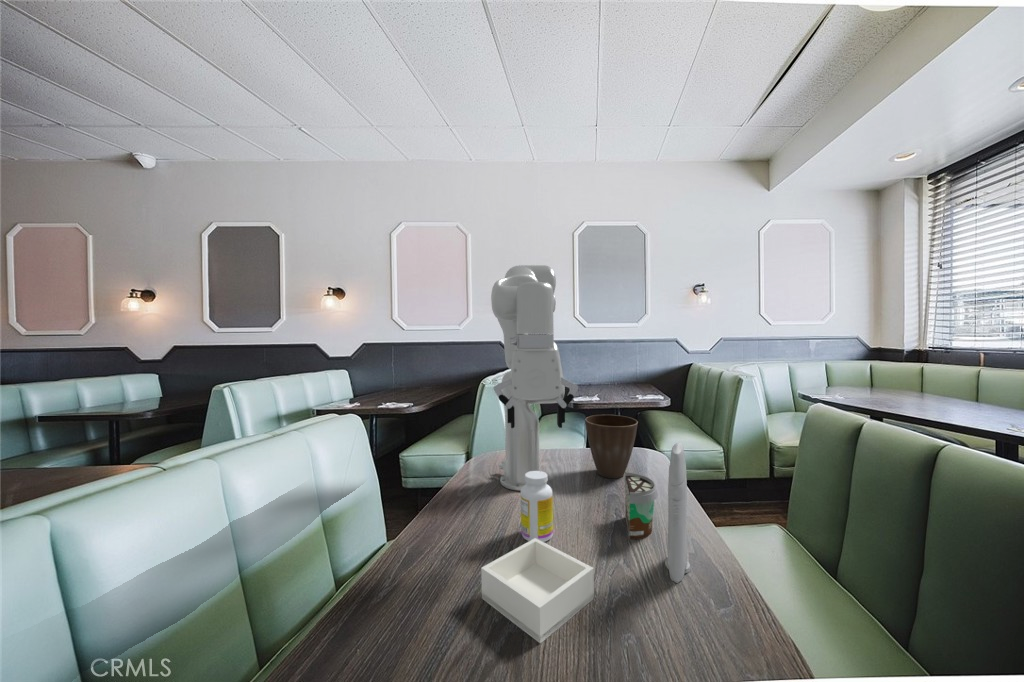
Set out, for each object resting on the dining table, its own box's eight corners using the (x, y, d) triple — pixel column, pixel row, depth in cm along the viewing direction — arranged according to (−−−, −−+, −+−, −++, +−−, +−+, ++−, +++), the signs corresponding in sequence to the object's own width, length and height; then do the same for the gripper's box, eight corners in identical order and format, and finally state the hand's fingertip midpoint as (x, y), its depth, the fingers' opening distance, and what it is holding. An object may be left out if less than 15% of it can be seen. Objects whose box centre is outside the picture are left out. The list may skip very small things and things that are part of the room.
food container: (662, 545, 77) (662, 495, 77) (630, 542, 78) (630, 493, 78) (653, 516, 89) (653, 473, 89) (625, 514, 90) (624, 471, 90)
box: (481, 598, 62) (481, 567, 62) (535, 564, 71) (535, 537, 71) (540, 643, 53) (539, 607, 53) (593, 598, 62) (593, 568, 62)
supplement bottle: (556, 530, 83) (555, 470, 83) (548, 546, 77) (548, 482, 77) (526, 525, 86) (525, 467, 85) (516, 541, 79) (516, 478, 79)
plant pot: (620, 462, 125) (620, 413, 124) (648, 480, 110) (648, 423, 110) (577, 467, 121) (576, 416, 120) (600, 486, 106) (600, 428, 106)
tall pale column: (668, 549, 76) (668, 436, 75) (691, 554, 74) (691, 439, 73) (661, 580, 66) (661, 452, 66) (688, 587, 64) (688, 455, 64)
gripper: (491, 344, 76) (492, 431, 77) (580, 343, 76) (581, 430, 76) (494, 343, 84) (495, 422, 84) (575, 342, 84) (575, 422, 84)
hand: (536, 426), depth 80 cm, fingers open, 9 cm apart
